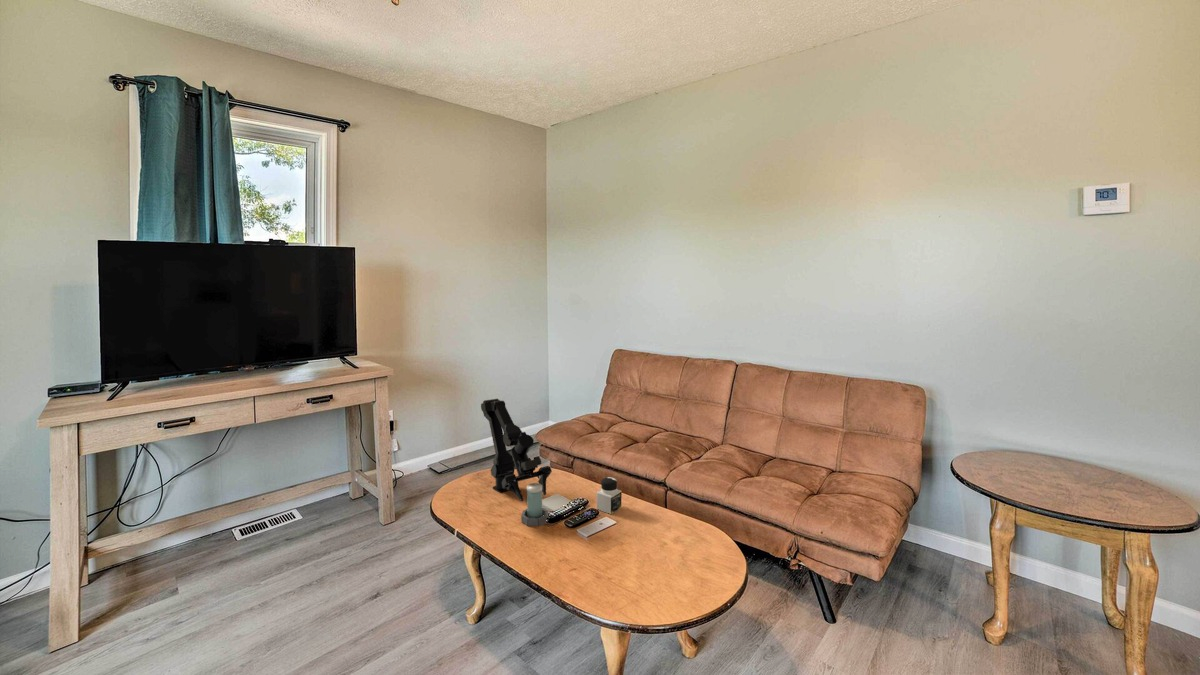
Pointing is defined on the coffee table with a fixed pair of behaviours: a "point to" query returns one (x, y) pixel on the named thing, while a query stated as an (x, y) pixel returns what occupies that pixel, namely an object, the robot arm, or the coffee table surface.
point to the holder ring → (534, 521)
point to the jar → (534, 500)
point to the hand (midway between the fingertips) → (534, 497)
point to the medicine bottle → (609, 496)
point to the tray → (555, 502)
